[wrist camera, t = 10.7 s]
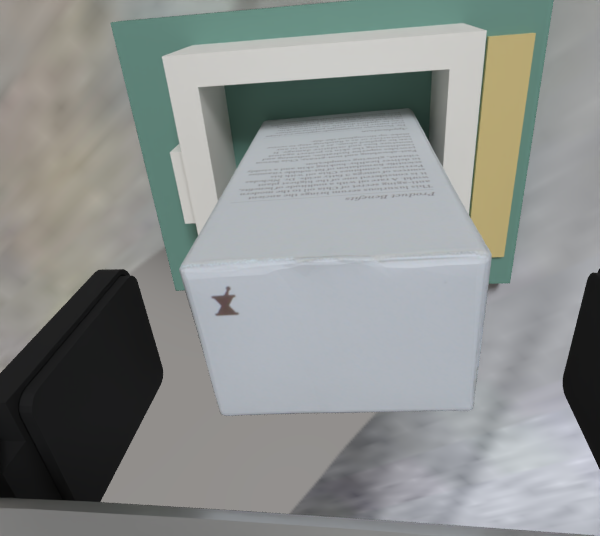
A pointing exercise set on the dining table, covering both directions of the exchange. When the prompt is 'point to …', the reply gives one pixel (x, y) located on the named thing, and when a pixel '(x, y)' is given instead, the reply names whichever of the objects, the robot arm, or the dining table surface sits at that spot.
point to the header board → (338, 95)
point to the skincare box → (339, 273)
